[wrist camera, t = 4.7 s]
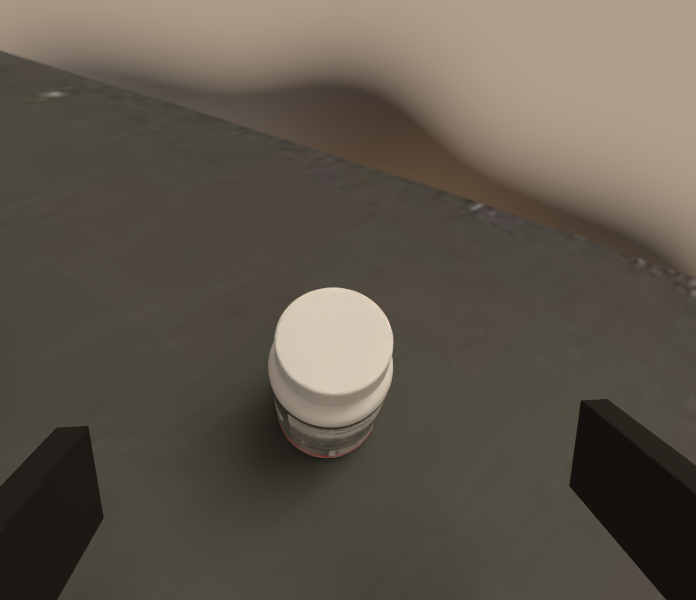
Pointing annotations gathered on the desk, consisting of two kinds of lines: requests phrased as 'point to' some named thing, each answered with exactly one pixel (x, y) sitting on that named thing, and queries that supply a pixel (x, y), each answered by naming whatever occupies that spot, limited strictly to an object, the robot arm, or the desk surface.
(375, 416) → the pill bottle
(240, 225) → the desk surface
